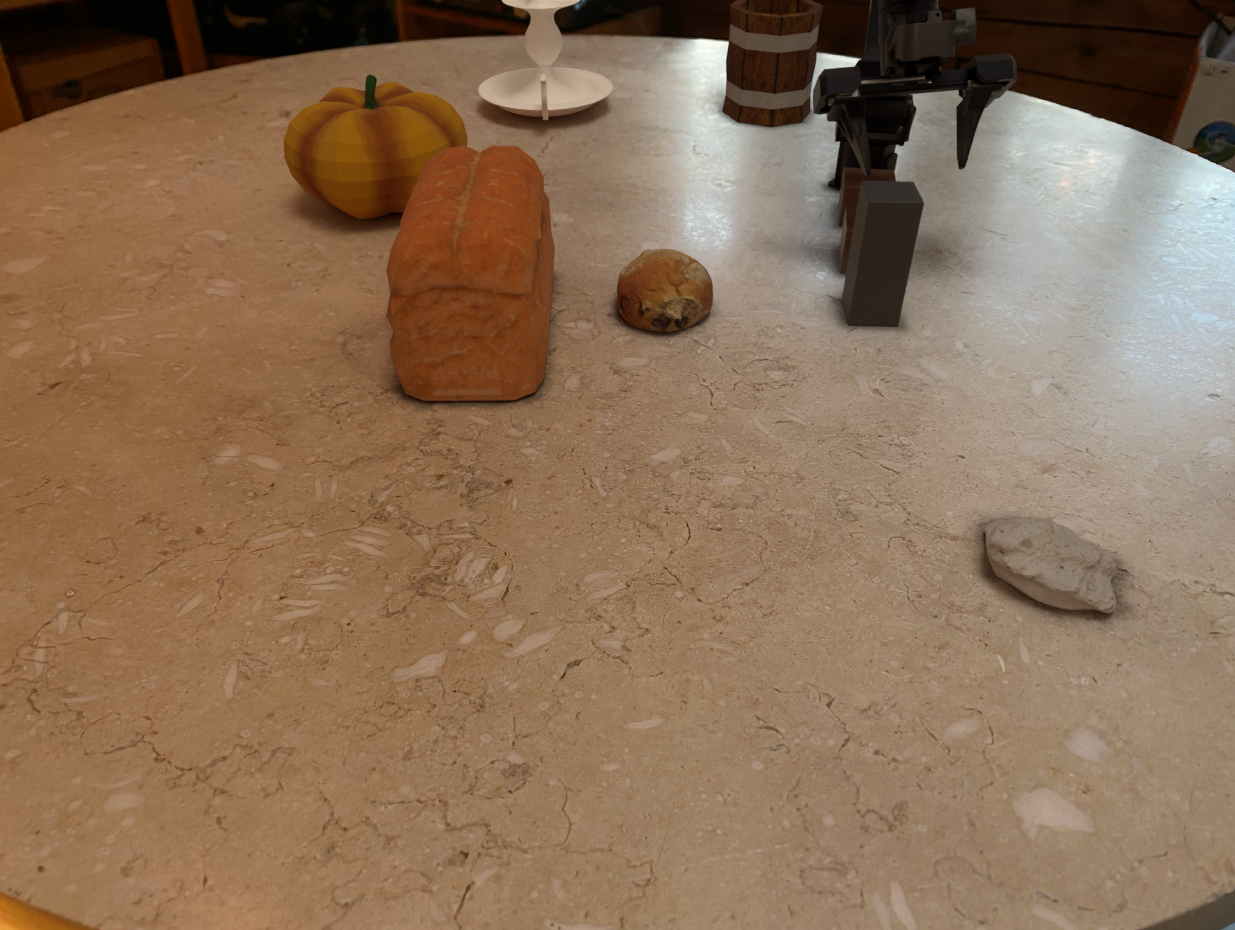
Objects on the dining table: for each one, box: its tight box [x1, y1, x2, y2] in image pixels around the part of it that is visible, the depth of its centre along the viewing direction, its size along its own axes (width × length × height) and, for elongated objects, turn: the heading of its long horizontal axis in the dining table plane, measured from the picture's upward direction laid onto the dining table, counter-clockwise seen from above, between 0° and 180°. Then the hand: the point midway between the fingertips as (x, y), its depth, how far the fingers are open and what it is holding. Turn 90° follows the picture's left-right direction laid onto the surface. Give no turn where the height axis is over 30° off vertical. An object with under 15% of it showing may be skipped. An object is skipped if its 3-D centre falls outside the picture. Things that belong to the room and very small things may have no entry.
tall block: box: [840, 180, 925, 327], centre depth 92 cm, size 5×5×13 cm
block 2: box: [837, 167, 897, 228], centre depth 112 cm, size 6×6×5 cm
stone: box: [983, 517, 1118, 614], centre depth 66 cm, size 10×5×10 cm
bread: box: [385, 145, 556, 402], centre depth 89 cm, size 14×27×15 cm, turn 1°
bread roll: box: [616, 248, 714, 333], centre depth 95 cm, size 10×10×8 cm
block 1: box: [838, 208, 857, 274], centre depth 103 cm, size 6×6×5 cm
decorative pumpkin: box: [283, 74, 468, 220], centre depth 114 cm, size 20×22×15 cm
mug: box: [722, 0, 824, 128], centre depth 142 cm, size 20×14×15 cm
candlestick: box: [477, 0, 614, 121], centre depth 135 cm, size 21×25×28 cm
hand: (915, 172), depth 94 cm, fingers open, 9 cm apart
